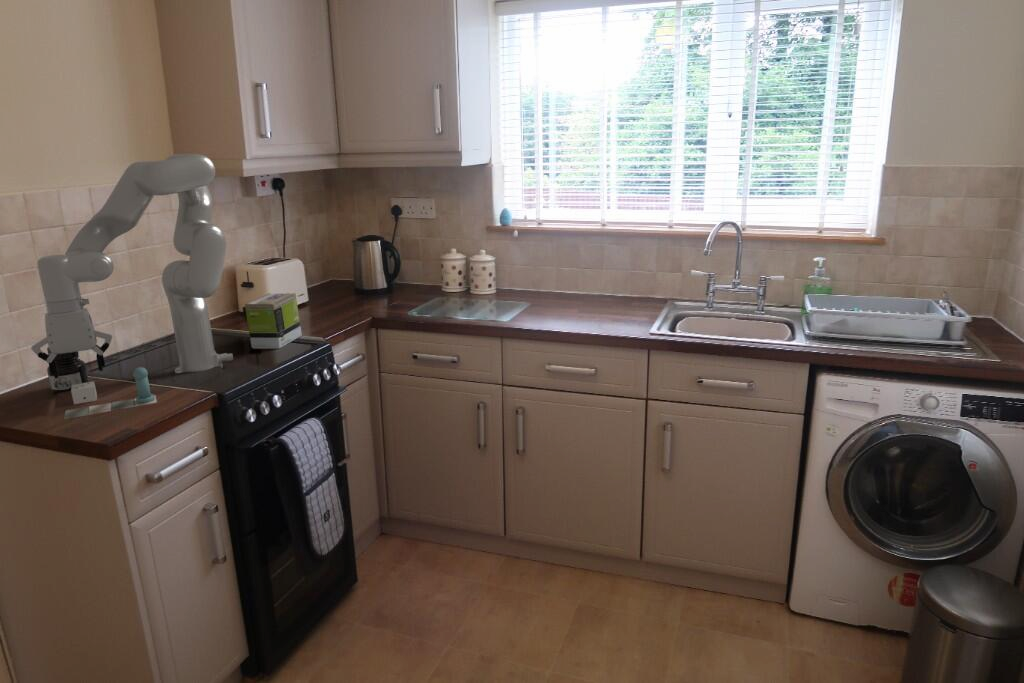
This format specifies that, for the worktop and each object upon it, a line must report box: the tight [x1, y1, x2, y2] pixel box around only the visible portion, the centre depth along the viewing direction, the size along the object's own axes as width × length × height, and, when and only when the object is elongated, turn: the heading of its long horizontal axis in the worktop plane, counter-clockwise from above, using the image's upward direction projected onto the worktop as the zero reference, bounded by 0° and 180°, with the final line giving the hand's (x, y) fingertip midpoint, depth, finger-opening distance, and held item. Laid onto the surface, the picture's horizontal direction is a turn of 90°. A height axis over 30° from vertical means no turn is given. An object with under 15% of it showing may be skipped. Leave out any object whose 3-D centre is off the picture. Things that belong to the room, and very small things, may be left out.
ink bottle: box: [46, 346, 90, 394], centre depth 195 cm, size 10×9×12 cm
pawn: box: [132, 366, 155, 403], centre depth 179 cm, size 4×4×9 cm
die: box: [70, 380, 98, 405], centre depth 183 cm, size 5×5×5 cm
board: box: [63, 394, 158, 420], centre depth 177 cm, size 20×7×1 cm, turn 118°
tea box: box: [244, 292, 303, 350], centre depth 231 cm, size 15×10×15 cm, turn 168°
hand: (79, 373), depth 181 cm, fingers open, 9 cm apart
